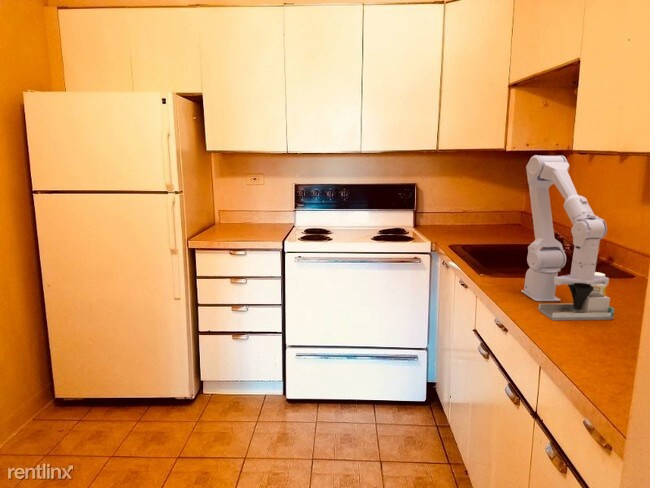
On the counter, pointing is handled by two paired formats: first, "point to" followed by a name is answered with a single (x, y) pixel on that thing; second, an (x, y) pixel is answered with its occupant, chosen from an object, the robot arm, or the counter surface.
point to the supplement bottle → (599, 285)
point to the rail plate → (573, 312)
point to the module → (595, 303)
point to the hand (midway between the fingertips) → (577, 308)
